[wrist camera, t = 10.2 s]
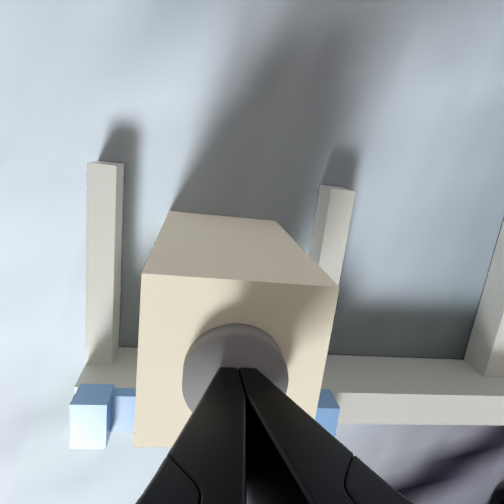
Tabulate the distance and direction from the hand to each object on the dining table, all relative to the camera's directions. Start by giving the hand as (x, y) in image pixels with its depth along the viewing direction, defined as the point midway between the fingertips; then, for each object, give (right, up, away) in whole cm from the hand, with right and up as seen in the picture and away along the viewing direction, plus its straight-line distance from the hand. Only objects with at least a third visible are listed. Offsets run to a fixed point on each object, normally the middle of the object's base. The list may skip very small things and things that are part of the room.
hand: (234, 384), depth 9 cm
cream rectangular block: (-1, +2, +8) cm, 9 cm away
